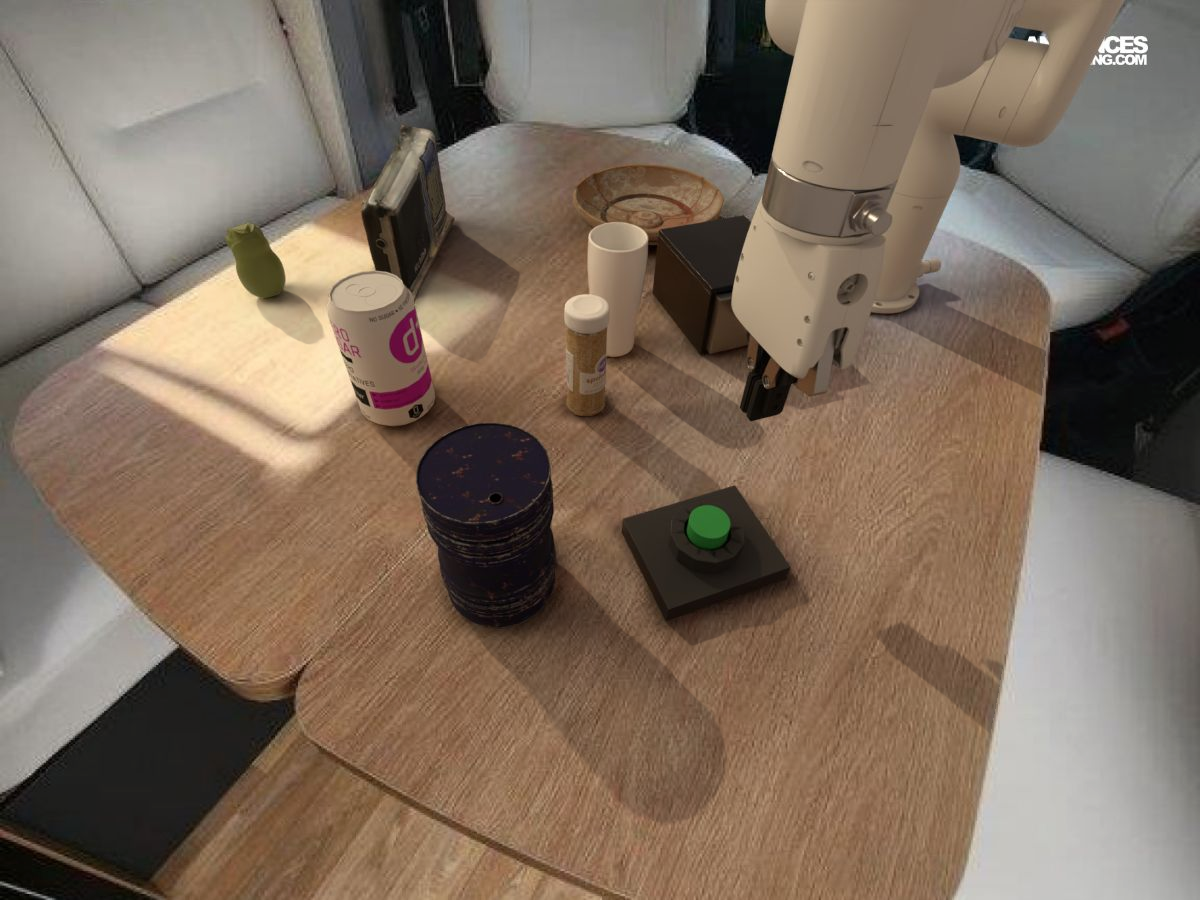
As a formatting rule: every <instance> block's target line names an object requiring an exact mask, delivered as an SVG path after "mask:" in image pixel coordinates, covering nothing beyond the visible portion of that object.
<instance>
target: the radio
mask: <svg viewBox="0 0 1200 900" xmlns="http://www.w3.org/2000/svg"><path fill="white" fill-rule="evenodd" d="M443 186H444V185H443V181H442V175H441V167H440V161H439V155H438V150H437V142H436V136H435V133H434V132H433V131H432V130H430V129H427V128H422V127H421V128H419V127H415V126H413V127H412V126H410V125H400V126H399V134H398V136H397V139H396V144H395V145H394V147H393V151H392V153H391V154H390V156H389V158H388V160H387V162H386V163H385V164H384V166H383V168H382V171H381V172H380V174H379V176H378V178H377V180H376V181H375V183H374V185H373V187H372V188H371V190H370V192H369V194H368V195H367V197H365V198H364V200H363V201H362V203H361V207H360V213H361V220H362V225H363V227H364V231H365V234H366V240H367V244H368V247H369V252H370V256H371V260H372V262H373V265H374V271H382V272H388V273H391V274H394V275H396V276H397V277H398V278H400V279H401V280H402V282H403V284H404V285H405V286H406V287H407V288H408V289H409V290H410V291H411V293H412V296H413V299H414V300H415V299H416V297H417V296H418V293H419V291H420V289H421V287H422V285H423V283H424V281H425V279H426V278H427V276H428V273H429V271H430V269H431V268H432V265H433V264H434V262H435V260H436V258H437V256H438V255H439V252H440V250H441V248H442V246H443V244H444V243H445V240H446V238H447V236H448V234H449V233H450V231H451V228H452V226H453V225H454V222H455V216H453V215H452V214H450V213H448V211H447V209H446V208H447V207H446V197H445V192H444V191H445V190H444V187H443Z"/></svg>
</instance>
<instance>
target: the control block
mask: <svg viewBox="0 0 1200 900" xmlns="http://www.w3.org/2000/svg"><path fill="white" fill-rule="evenodd" d="M704 505H710V506H715V507H718V508H720V509H721V510H723V511H724V512H725V513H726V514H727V515H728V517H729V519H730V524H731V525H730V530H729V533H728V536H727V540H726V542H725V543H724V544H723V545H722V546H721V547H719V548H717V549H713V550H706V549H702V548H699V547H697V546H695V545H694V544H693V543H692V542H691V541H690V539H689V538H688V535H687V526H688V521H689V517H690V514H691V512H692V511H693V510H694V509H696V508H697V507H700V506H704ZM621 535H622V536H623V538H624V541H625V542H626V545H627V546H628V549H629V551H630V552H631V555H632V557H633V559H634V561H635V563H636V565H637V567H638V569H639V572H640V573H641V575H642V577H643V579H644V581H645V583H646V585H647V587H648V589H649V591H650V594H651V595H652V597H653V599H654V601H655V603H656V605H657V608H658V610H659V612H660V613H661V616H662V618H663V619H664V621H665V622H666V623H668V622H670V621H673V620H676V619H679V618H682V617H684V616H687V615H691V614H692V613H695V612H698V611H701V610H704V609H707V608H710V607H712V606H716V605H718V604H721V603H724V602H727V601H729V600H732V599H735V598H738V597H741V596H744V595H746V594H750V593H752V592H756V591H758V590H760V589H764V588H766V587H769V586H772V585H775V584H778V583H781V582H783V581H785V580H786V579H787V577H788V574H789V572H790V570H791V568H792V567H791V565H790V564H789V562H788V561H787V559H786V558H785V556H784V555H783V553H782V552H781V550H780V549H779V547H778V546H777V545H776V543H775V541H774V540H773V538H772V536H770V534H769V533H768V531H767V529H766V528H765V527H764V526H763V524H762V523H761V521H760V520H759V518H758V517H757V515H756V514H755V512H754V510H753V509H752V508H751V507H750V505H749V503H748V502H747V501H746V499H745V497H744V496H743V495H742V493H741V492H740V490H739V489H738V487H737V486H736V485H735V484H734V485H731V486H727V487H724V488H721V489H717V490H714V491H710V492H707V493H704V494H701V495H698V496H697V495H696V496H693V497H691V498H687V499H684V500H680V501H676V502H674V503H670V504H667V505H664V506H661V507H658V508H653V509H651V510H647V511H644V512H641V513H637V514H634V515H630V516H627V517H624V518H622V521H621Z"/></svg>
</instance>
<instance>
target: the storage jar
mask: <svg viewBox="0 0 1200 900" xmlns="http://www.w3.org/2000/svg"><path fill="white" fill-rule="evenodd" d="M551 468H552V467H551V459H550V456H549V454H548V451H547V449H546V448H545V446H544V444H543V443H542V442H541V441H540V440H539V439H538V438H537V437H536V436H535V435H533V434H531V433H530V432H529V431H527V430H525V429H523V428H521V427H518V426H515V425H512V424H508V423H503V422H487V421H486V422H476V423H472V424H467V425H464V426H461V427H457V428H454V429H453V430H450V431H449V432H447V433H444V435H442V436H440V437H438V438H437V439H436V440H435V441H433V442H432V444H430V445H429V446H428V447H427V448H426V450H425V451H424V453H423V454H422V456H421V457H420V459H419V461H418V464H417V468H416V471H415V483H416V484H415V485H416V489H417V492H418V496H419V499H420V504H421V510H422V514H423V518H424V521H425V523H426V528H427V531H428V534H429V536H430V538H432V541H433V542H434V544H435V545H436V546H437V559H438V563H439V569H440V575H441V579H442V582H443V584H444V587H445V589H446V591H447V594H448V597H449V600H450V601H451V604H452V607H454V609H455V611H456V612H457V613H458V614H459V615H460V616H461V617H462V618H464V619H465V620H466V621H468V622H469V623H472V624H474V625H477V626H479V627H484V628H490V629H504V628H509V627H510V628H511V627H514V626H518V625H521V624H523V623H525V622H527V621H528V620H530V619H532V618H534V617H535V616H536V615H537V614H538V613H540V612H541V611H542V610H543V609H544V607H545V606H546V605H547V604H548V602H549V600H550V599H551V597H552V595H553V593H554V590H555V586H556V579H557V578H556V576H557V573H556V568H557V551H556V544H555V538H554V537H555V536H554V533H553V530H552V528H551V526H552V521H553V517H554V510H555V504H554V487H553V480H552V469H551Z"/></svg>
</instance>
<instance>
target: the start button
mask: <svg viewBox="0 0 1200 900" xmlns="http://www.w3.org/2000/svg"><path fill="white" fill-rule="evenodd" d="M730 525H731V524H730V519H729V517H728V515H727V514H726V513H725V512H724V511H723V510H721V509H720V508H718V507H715V506H710V505H704V506H700V507H697V508H696V509H694V510H693V511H692V512H691V514H690V517H689V521H688V526H687V535H688V538H689V539H690V541H691V542H692V543H693V544H694V545H695V546H697V547H699V548H702V549H706V550H713V549H717V548H719V547H721V546H722V545H723V544H724V543H725V542H726V540H727V536H728V533H729V530H730Z"/></svg>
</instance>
